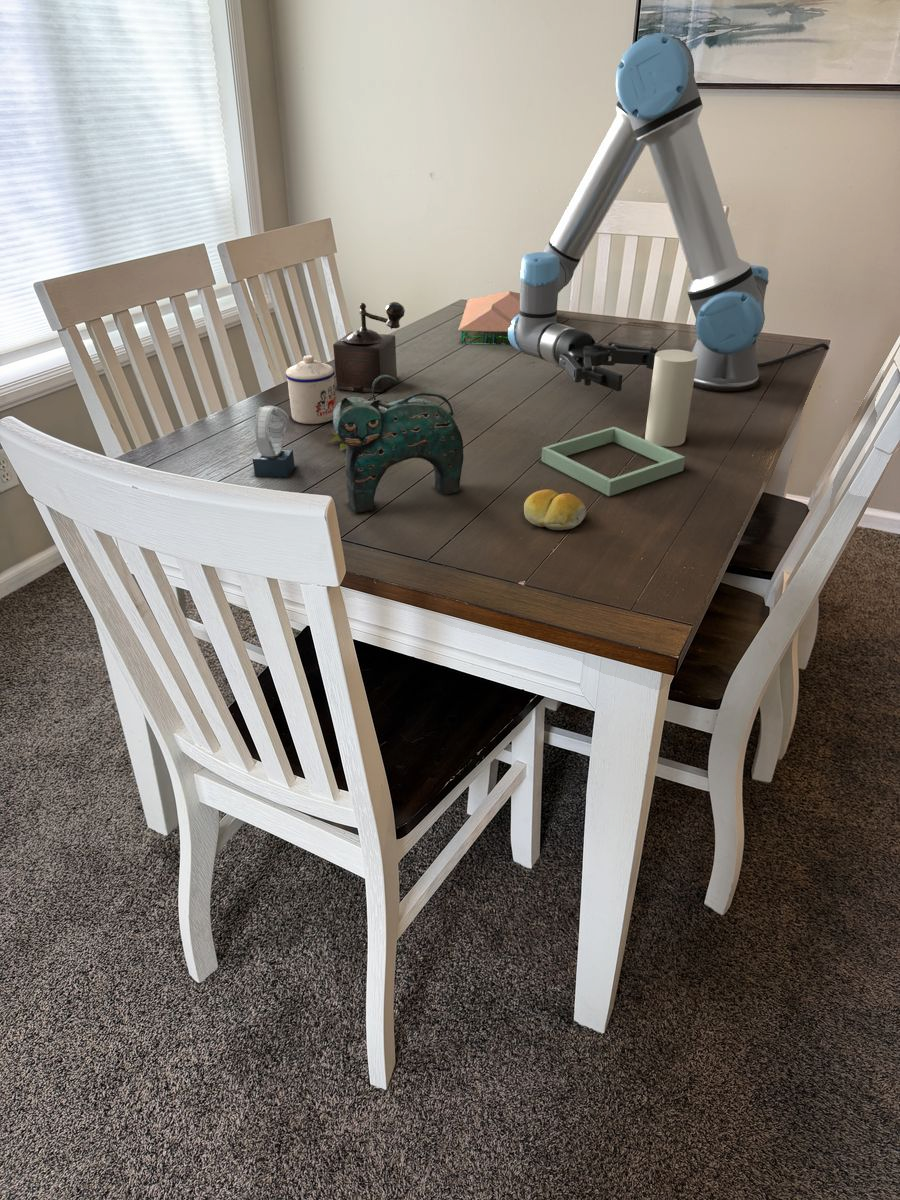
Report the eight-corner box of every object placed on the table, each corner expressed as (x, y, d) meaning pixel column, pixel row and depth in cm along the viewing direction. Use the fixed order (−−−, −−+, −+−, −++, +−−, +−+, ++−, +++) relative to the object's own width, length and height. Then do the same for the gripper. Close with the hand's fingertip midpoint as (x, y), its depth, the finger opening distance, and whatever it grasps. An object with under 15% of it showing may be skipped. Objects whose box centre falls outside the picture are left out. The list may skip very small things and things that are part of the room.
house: (552, 310, 224) (554, 279, 220) (554, 345, 197) (556, 310, 193) (468, 309, 226) (468, 278, 222) (458, 344, 199) (458, 309, 195)
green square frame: (613, 439, 148) (614, 426, 147) (683, 470, 137) (685, 456, 135) (541, 461, 140) (541, 447, 139) (609, 496, 129) (610, 481, 128)
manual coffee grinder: (333, 390, 172) (325, 301, 162) (353, 374, 181) (346, 288, 171) (404, 396, 168) (400, 305, 158) (420, 379, 177) (418, 292, 167)
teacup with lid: (324, 427, 155) (318, 365, 148) (282, 422, 157) (274, 361, 151) (352, 406, 164) (348, 347, 158) (312, 401, 167) (306, 343, 160)
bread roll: (538, 501, 128) (539, 477, 126) (591, 515, 124) (593, 490, 122) (512, 522, 122) (513, 497, 120) (567, 537, 118) (568, 512, 116)
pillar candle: (664, 428, 152) (675, 347, 144) (693, 440, 147) (706, 356, 139) (636, 437, 149) (646, 354, 141) (665, 449, 144) (677, 364, 136)
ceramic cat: (347, 519, 124) (335, 388, 113) (334, 501, 128) (322, 375, 118) (468, 494, 130) (468, 369, 119) (451, 479, 135) (450, 356, 124)
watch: (298, 462, 141) (290, 400, 135) (284, 482, 135) (275, 417, 129) (266, 461, 142) (257, 398, 136) (251, 481, 135) (241, 416, 129)
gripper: (613, 355, 170) (693, 382, 155) (517, 379, 158) (594, 410, 143) (617, 318, 165) (699, 342, 151) (519, 339, 154) (597, 368, 139)
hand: (648, 375), depth 147 cm, fingers open, 13 cm apart
